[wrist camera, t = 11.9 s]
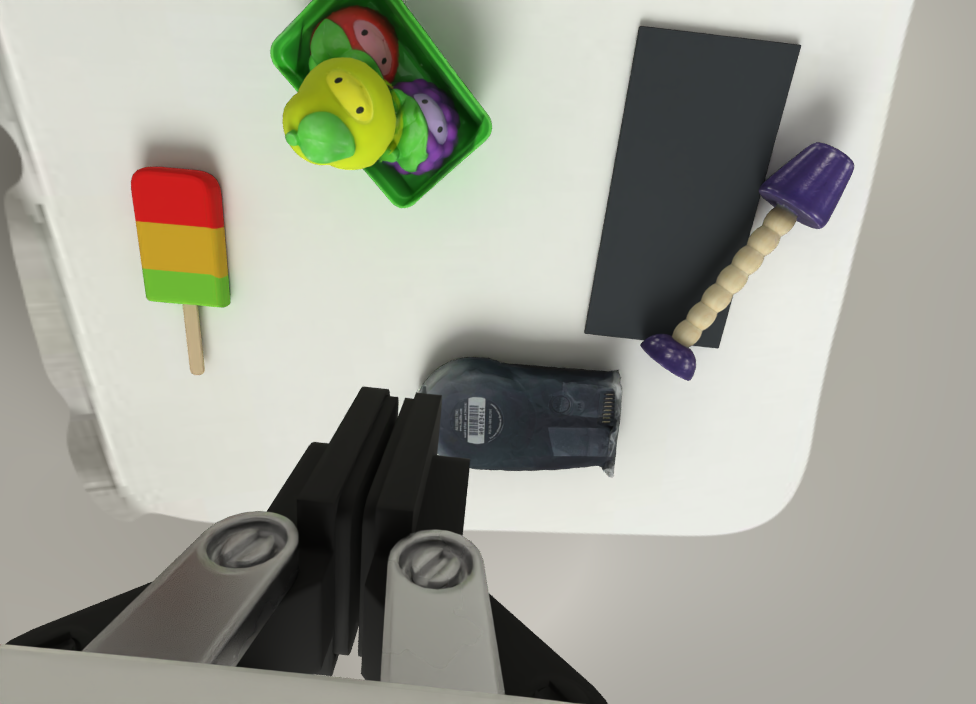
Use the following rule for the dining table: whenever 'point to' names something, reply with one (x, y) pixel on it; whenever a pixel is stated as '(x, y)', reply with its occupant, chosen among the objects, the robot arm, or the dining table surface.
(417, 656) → the robot arm
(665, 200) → the mat
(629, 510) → the dining table surface
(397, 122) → the fruit basket
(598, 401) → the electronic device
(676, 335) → the toy lamp
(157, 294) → the popsicle
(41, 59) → the dining table surface
